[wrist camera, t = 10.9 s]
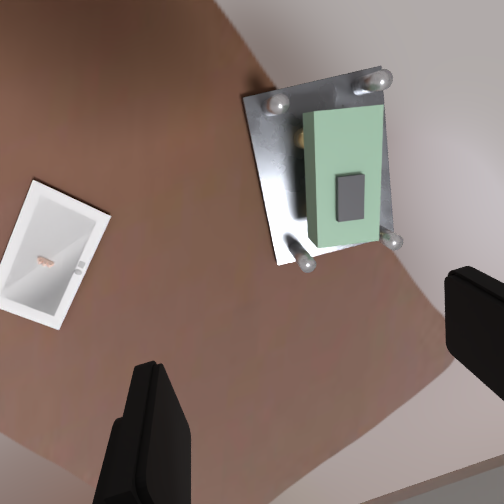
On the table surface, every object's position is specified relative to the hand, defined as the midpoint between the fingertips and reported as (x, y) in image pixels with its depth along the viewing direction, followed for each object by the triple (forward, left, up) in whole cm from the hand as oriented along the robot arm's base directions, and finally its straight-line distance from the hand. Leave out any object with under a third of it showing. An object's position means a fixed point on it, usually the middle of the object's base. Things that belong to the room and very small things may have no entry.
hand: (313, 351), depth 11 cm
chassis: (0, +10, -28) cm, 30 cm away
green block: (0, +10, -24) cm, 26 cm away
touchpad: (+2, -21, -29) cm, 36 cm away
